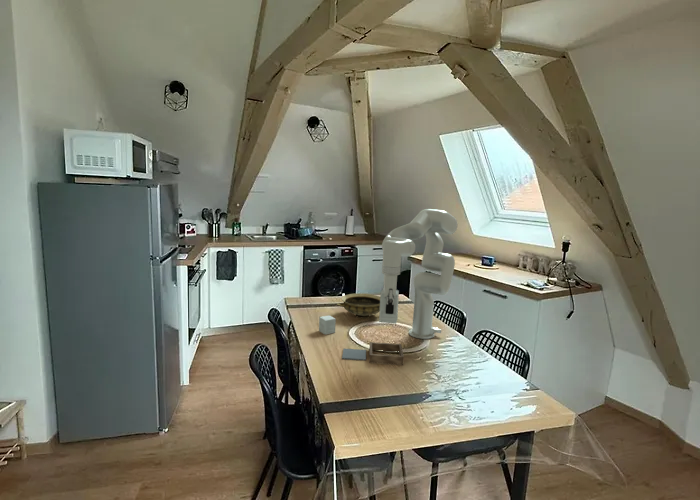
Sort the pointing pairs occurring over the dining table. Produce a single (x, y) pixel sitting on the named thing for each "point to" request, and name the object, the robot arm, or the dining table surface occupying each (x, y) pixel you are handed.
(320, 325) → the product box
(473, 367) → the dining table surface
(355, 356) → the pad
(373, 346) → the wooden square frame
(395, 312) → the supplement box
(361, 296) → the ceramic bowl
